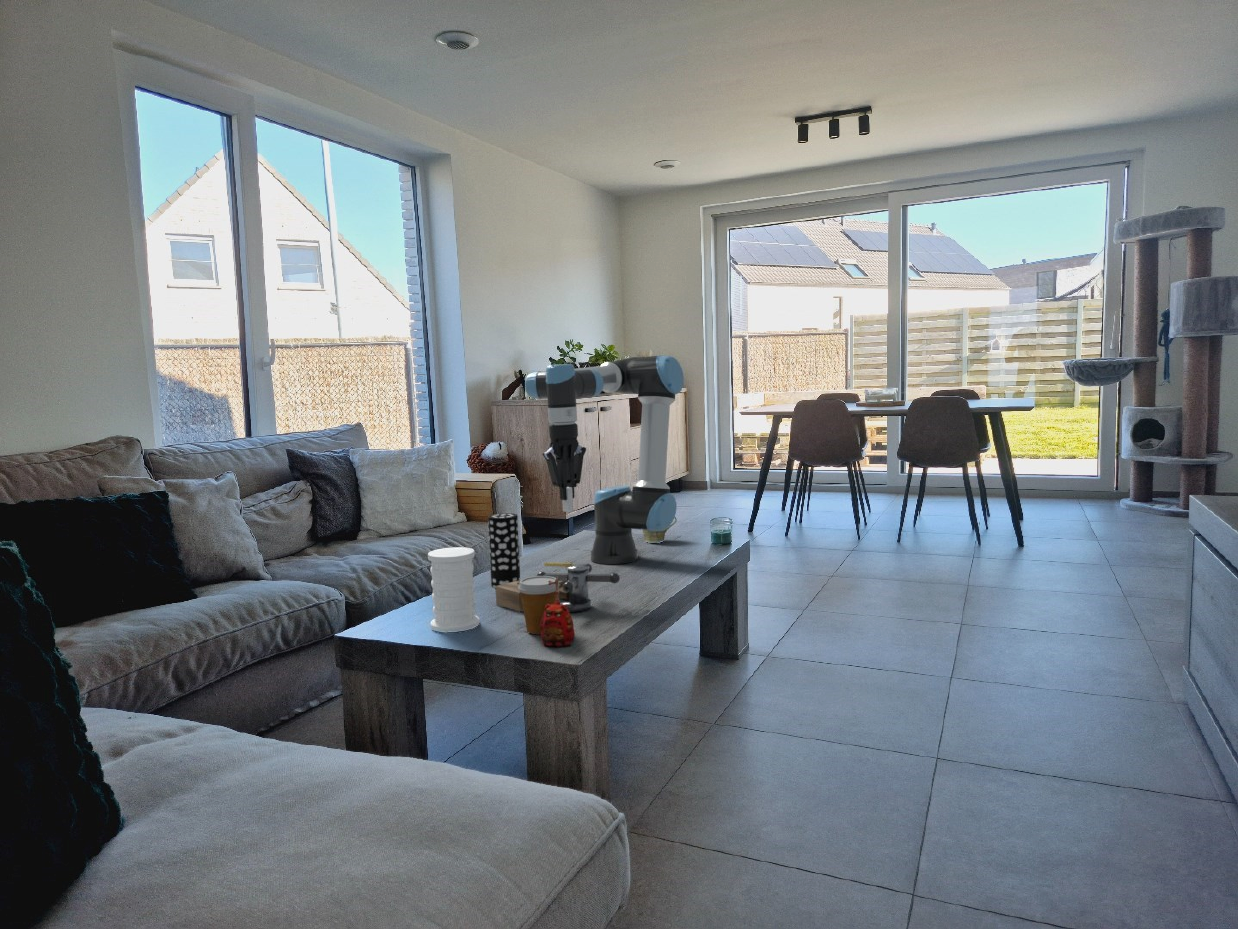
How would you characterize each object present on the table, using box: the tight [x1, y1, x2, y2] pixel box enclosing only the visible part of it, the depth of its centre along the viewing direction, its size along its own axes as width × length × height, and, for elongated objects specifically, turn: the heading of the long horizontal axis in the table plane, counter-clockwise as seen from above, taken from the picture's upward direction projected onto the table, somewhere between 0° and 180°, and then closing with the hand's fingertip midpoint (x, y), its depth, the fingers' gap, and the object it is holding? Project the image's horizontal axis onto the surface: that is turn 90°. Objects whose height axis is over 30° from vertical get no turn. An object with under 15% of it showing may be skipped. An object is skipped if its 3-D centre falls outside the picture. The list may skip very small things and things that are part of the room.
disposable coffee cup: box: [518, 575, 559, 634], centre depth 187 cm, size 10×10×12 cm
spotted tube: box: [487, 512, 521, 589], centre depth 229 cm, size 8×8×20 cm
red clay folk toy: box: [540, 574, 576, 648], centre depth 177 cm, size 8×7×15 cm
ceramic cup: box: [642, 516, 677, 543], centre depth 283 cm, size 13×10×10 cm
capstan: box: [536, 561, 621, 613], centre depth 204 cm, size 22×22×11 cm
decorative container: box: [427, 546, 480, 632], centre depth 192 cm, size 12×12×18 cm
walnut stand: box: [495, 579, 569, 613], centre depth 210 cm, size 18×16×6 cm
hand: (568, 511), depth 215 cm, fingers closed
